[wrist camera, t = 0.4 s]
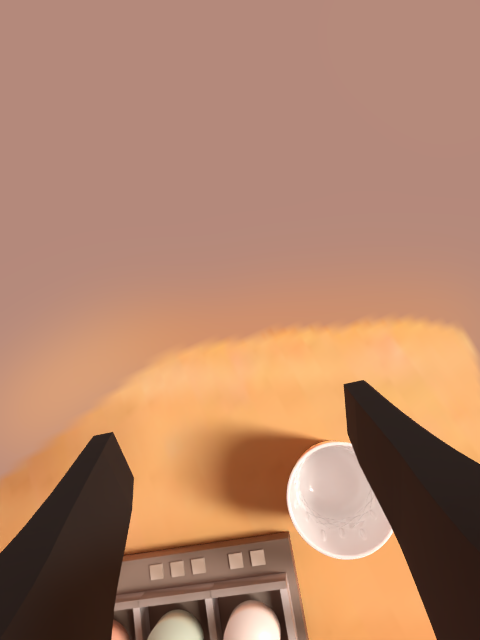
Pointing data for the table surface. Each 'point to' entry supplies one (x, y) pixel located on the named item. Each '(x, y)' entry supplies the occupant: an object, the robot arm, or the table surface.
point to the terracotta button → (119, 632)
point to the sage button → (177, 627)
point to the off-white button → (252, 622)
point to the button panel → (211, 585)
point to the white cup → (335, 503)
